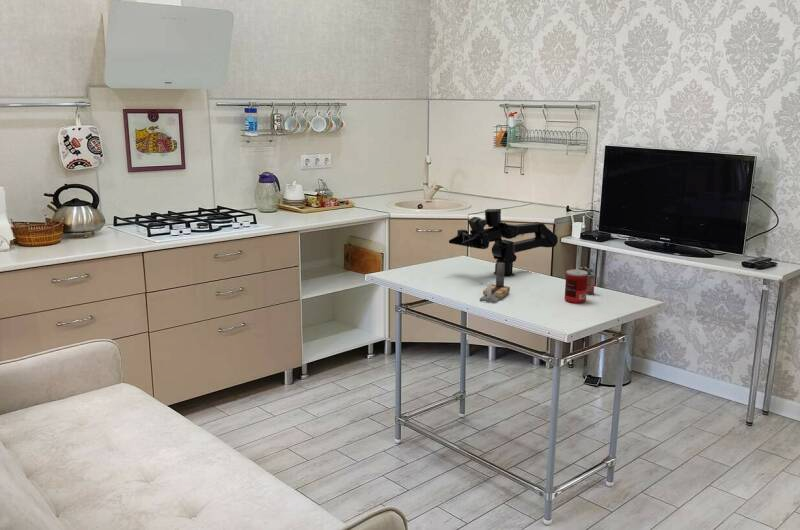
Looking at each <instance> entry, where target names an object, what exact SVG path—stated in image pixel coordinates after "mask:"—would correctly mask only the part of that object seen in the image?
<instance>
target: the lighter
mask: <svg viewBox="0 0 800 530" xmlns="http://www.w3.org/2000/svg"><path fill="white" fill-rule="evenodd" d="M578 270H584V271H586V272H588V280H587V293H586V296H594V295H595V284H596V283H595V282H596V276H597V275H596V274H594V273H595V269H594V268H588V267H586V266H584V267H582V266H580V267H578Z"/></svg>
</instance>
